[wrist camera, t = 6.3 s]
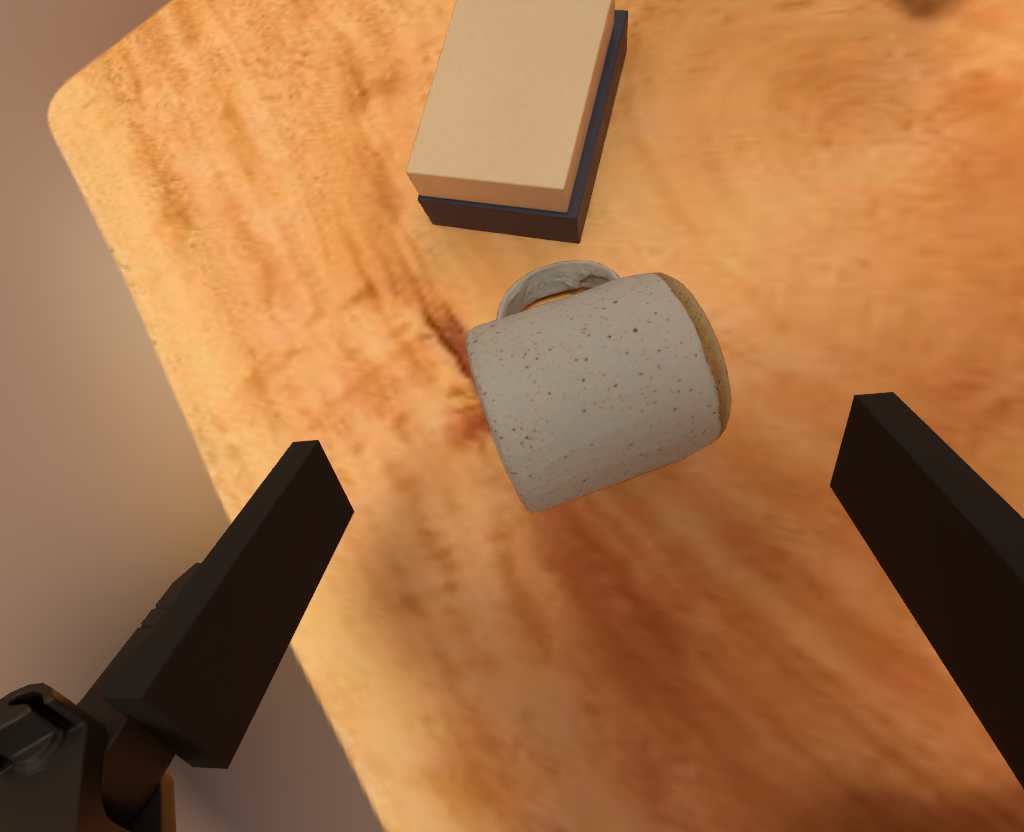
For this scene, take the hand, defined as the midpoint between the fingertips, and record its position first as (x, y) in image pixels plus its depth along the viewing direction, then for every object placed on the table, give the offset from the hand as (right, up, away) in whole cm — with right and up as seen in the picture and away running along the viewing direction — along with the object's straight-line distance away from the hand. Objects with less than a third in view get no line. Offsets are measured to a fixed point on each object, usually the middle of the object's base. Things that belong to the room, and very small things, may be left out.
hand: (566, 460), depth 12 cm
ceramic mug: (+2, +3, +10) cm, 11 cm away
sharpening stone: (-1, +16, +13) cm, 20 cm away
